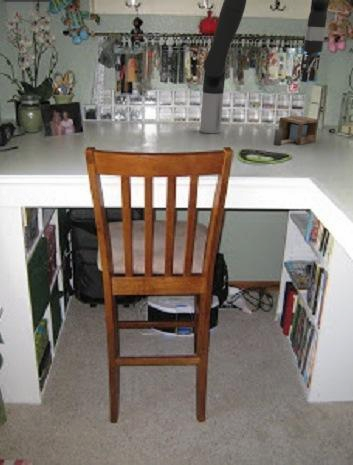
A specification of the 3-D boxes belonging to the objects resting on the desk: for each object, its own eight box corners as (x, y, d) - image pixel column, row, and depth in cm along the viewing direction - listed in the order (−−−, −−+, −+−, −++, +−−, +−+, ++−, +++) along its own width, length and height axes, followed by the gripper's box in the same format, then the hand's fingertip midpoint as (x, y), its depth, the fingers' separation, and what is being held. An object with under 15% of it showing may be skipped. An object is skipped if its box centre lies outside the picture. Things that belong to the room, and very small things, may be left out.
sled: (295, 138, 207) (298, 122, 204) (305, 141, 203) (307, 124, 200) (270, 143, 196) (272, 126, 193) (279, 145, 193) (281, 128, 190)
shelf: (293, 136, 210) (296, 115, 207) (315, 141, 203) (318, 119, 199) (277, 139, 203) (279, 117, 200) (298, 144, 196) (301, 121, 192)
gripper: (311, 39, 197) (305, 79, 204) (298, 38, 187) (292, 81, 193) (329, 40, 194) (322, 81, 200) (317, 39, 183) (310, 83, 189)
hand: (307, 81), depth 197 cm, fingers open, 8 cm apart
